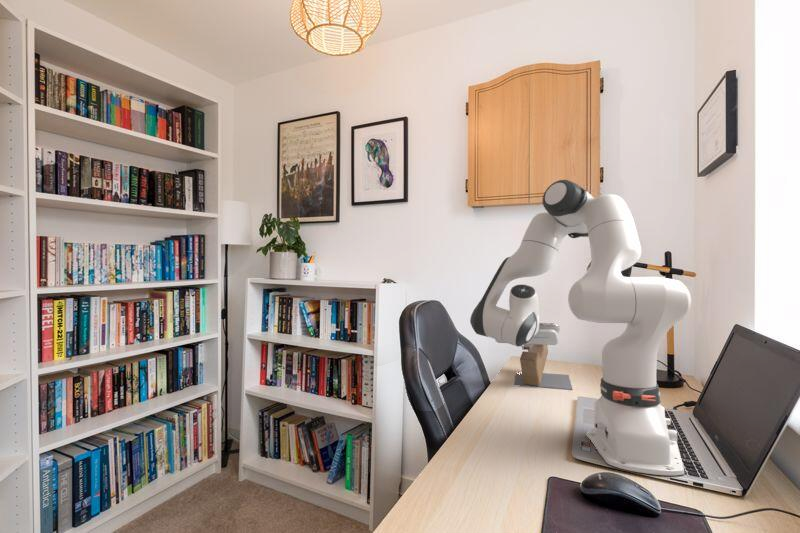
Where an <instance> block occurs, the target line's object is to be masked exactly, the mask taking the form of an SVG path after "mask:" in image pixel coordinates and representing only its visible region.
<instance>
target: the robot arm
mask: <svg viewBox="0 0 800 533" xmlns="http://www.w3.org/2000/svg"><path fill="white" fill-rule="evenodd" d="M544 191H545V192H544V193H543V196H542V200H541V201H542V205H543V208H544V209H545V211H546V212H545V211H544V212H540V213H537V214H535V215H534V216H533V217H532V219H531V221H530V222H529V225H528V226H527V228H526V230H525V232H524V234H523V237H522V239H521V243H520V245H519V247H518V248H517V250H516V251H515V252H514V254H512V255H511V256H508V257H506V258H505V259H504V260H503V261H502V262H501V264H500V265H499V267H498V268H497V270H496V272H495V274H494V275H493V277H492V279H491V281H490V283H489V285H488V286H487V288H486V290H485V292H484V294H483V296H482V298H481V299H480V301H479V302H478V303H477V305H476V306H475V307H474V309H473V311H472V313H471V315H470V319H469V320H470V325H471V328H472V329H473V331H474V332H475V334H476V335H480V336H483V337H486V338H491V339H494V340H495V342H496V343H498V344H509V345H512V346H515V347H521V348H522V350H525V351H528V350H531V347H532V346H534V344H539V345H547V346H557V345H558V344H559V333H560V331H561V330H560V326H559V325H558V324H555V323H551V322H550V323H548V322H540V302H539V300H540V299H539V296H538V293H537V290H536V288H534V287H533V286H531V285H527V284H516V285H514V286H512V287H511V289H510V291H509V299H508V302H509V304H508V306H509V309H506V308H502V307H499V306H498V305H497V304H498V302H499V300H500V298H501V296H502V295H503V294H504V291H505V289H506V288H507V285H508V284H509V283H510V282H512V281H514V280H517V279H522V278H530V277H531V278H532V277H537V276H541V275H544V274H545V273H547V272H548V271H550V270H551V269H552V267H553V265H554V264H555V261H556V260H557V257H558V253H559V251H560V247H561V243H562V241H563V239H564V238H565V237H566V236H568V237H570V238H572V239H577V238H580V237H581V238H582V237H583V238H586V237H587V238H588V241H589V248H590V259H591V260H590V264H589V267H588V269H587V272H586V273H585V274H584V275H583V276H582V277H581V278H579V280H577V281H575V282H574V283H573V284H572V286H571V287H570V290H569V292H568V297H567V301H568V302H567V303H568V307H569V308H570V311H571V313H572V314H573V315H574V316H575V318H576V319H578V320H581V321H586V322H590V323H596V324H627V325H626V329H625V330H624V331H623V333H622V334H620V335H619V336H617V337H614V338H611V339H610V340H609V341H607V343H605V344H604V346H603V348H602V351H601V361H602V362H601V363H602V364H601V366H602V367H601V368H602V372H601V373H602V374H601V375H602V377H601V378H600V383H599V387H600V394H601V396H600V397H599V398H598V399H597V400H595V402H594V403H593V404H594V405H593V429H590V430H587V431H586V432H585V433H586V434H585V436H586V435H587V437H588V438H589V439H590V440H591V442H592V443H593V444H594V446H595V447H596V448H595V447H594V446H593V447H594V448H595V450H596V449H597V450H598V451H597V450H596V451H597V452H598V453H599V455H600V456H601V457H602V459H603V460H604V461H605V462H606V463H607V465H610V466H612V467H615V468H619V469H622V470H626V471H630V472H636V473H642V474H649V475H656V476H658V475H659V476H668V477H669V476H670V477H671V476H674V477H675V476H682V475H685V469H684V465H683V461H682V456H681V453H680V448H679V445H678V432H677V430H676V429H668V425H669V426H671V424H672V420H671V418H669V417H668V418H667V417H666V411H665V410H666V409H665V407H664V406H663V405H662V404H661V391H660V388H659V384H658V383H657V366H658V365H657V363H658V352H659V349H660V345H661V343H662V341H663V339H664V338H665V336H666V334H667V333H668V332H669V330H670V329H672V327H674V326H675V325H676V324H677V323H678V322H680V321H682V320H683V319H685V318H686V316H687V315H688V314H689V312H690V309H691V308H692V307H691V306H692V296H691V293H690V291H689V289H688V288H687V286H686V285H685V284H684V283H683V282H682V281H680V280H677V279H673V278H668V277H663V276H662V277H660V276H624V275H623V274H622V272H623V271H625V270H628V269H629V268H631V267H632V266H634V265H635V264H637V262H638V261H639V260H640V258H641V256H642V246H641V243H640V239H639V234H638V231H637V227H636V224H635V221H634V217H633V215H632V213H631V210H630V209H629V207H628V204H627V203H626V201H625V200H624V199H623V198H622V197H621V196H619V195H617V194H613V193H607V194H602V195H599V196H596V197H594V196H592V194H590V193H589V192H588V191H587V190H586V189H585V188H583V187H581V186H580V185H579V184H578V183H576V182H574V181H571V180H568V179H559V180H557V181H554V182H553V183H551V184H550V185H549V186H548V187H547V188H546V190H544ZM587 437H586V438H587ZM588 438H587V439H588ZM589 439H588V440H589ZM590 440H589V441H590ZM591 442H590V443H591ZM592 443H591V444H592ZM593 444H592V445H593Z"/></svg>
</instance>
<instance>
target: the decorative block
mask: <svg viewBox="0 0 800 533" xmlns="http://www.w3.org/2000/svg"><path fill="white" fill-rule="evenodd" d="M548 353H549V348H548V345H539V344H534V346H532V347H531V350H527V351H526V350H525V351H522V352H521V356H520V359H519V362H520V368H521V372H522V376H523V383H524V384H528V385H536V386H539V385H540V382H541V378H542V374H543V373H544V369H545V366H546V361H547V358H548Z"/></svg>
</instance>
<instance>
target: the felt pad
mask: <svg viewBox="0 0 800 533" xmlns="http://www.w3.org/2000/svg"><path fill="white" fill-rule="evenodd" d="M519 372H520V371H518V373H519ZM514 385H520V386H519V387H527V386H529V387H530V388H540V389H541V388H542V389H555V390H568V391H573V386H572V383H571V379H570V375H569V374H563V373H561V374H560V373H547V372H543V374H542V378H541V382H540V385H539V386H536V385H528V384H524V383H523V376H522V374H521V373H520V375H519V374H517V373H516V372H515V376H514V383H513V386H514ZM529 387H528V388H529Z"/></svg>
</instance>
